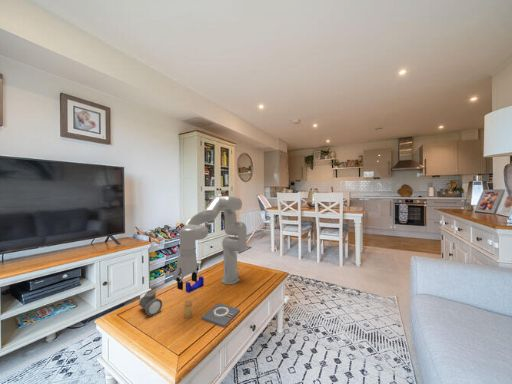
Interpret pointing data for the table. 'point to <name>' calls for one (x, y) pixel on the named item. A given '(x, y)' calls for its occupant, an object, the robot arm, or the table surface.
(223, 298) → the table surface
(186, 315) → the tan wooden peg
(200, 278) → the cable clip
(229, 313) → the plate
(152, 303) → the pipe fitting
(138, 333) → the table surface
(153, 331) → the table surface
